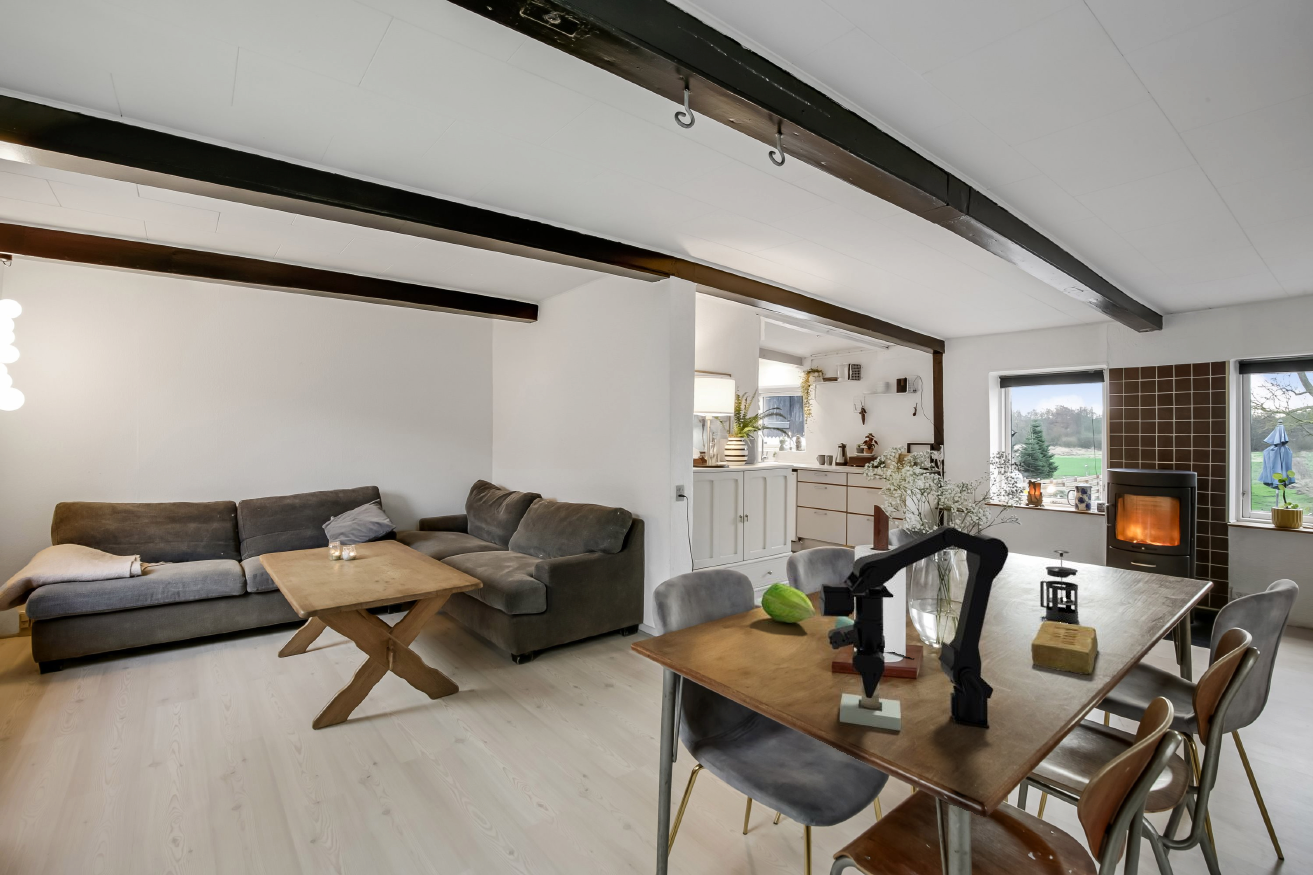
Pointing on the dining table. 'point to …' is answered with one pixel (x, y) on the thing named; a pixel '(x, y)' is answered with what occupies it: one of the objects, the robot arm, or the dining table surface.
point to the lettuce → (786, 604)
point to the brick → (1065, 647)
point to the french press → (1055, 611)
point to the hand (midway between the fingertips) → (869, 689)
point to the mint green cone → (843, 622)
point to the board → (870, 713)
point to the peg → (870, 699)
